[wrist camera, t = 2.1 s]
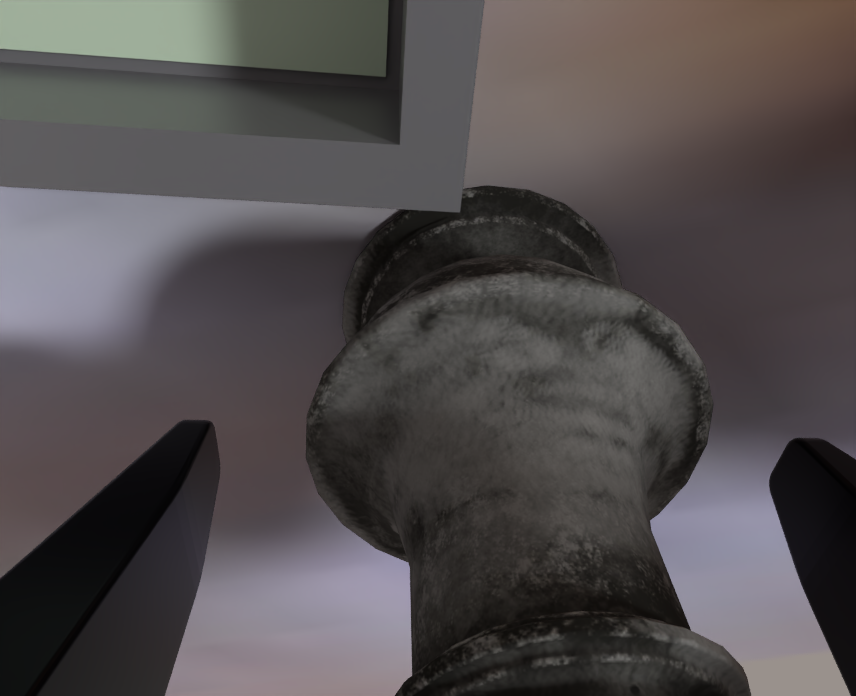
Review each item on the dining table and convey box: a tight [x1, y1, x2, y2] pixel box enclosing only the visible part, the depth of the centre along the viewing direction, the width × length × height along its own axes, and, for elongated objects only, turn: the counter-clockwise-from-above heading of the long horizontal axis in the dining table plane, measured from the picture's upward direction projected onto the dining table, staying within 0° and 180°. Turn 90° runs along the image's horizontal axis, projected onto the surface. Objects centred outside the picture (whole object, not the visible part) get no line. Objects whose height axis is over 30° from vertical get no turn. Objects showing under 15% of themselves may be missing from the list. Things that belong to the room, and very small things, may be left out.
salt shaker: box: [306, 186, 751, 696], centre depth 7 cm, size 6×6×12 cm
